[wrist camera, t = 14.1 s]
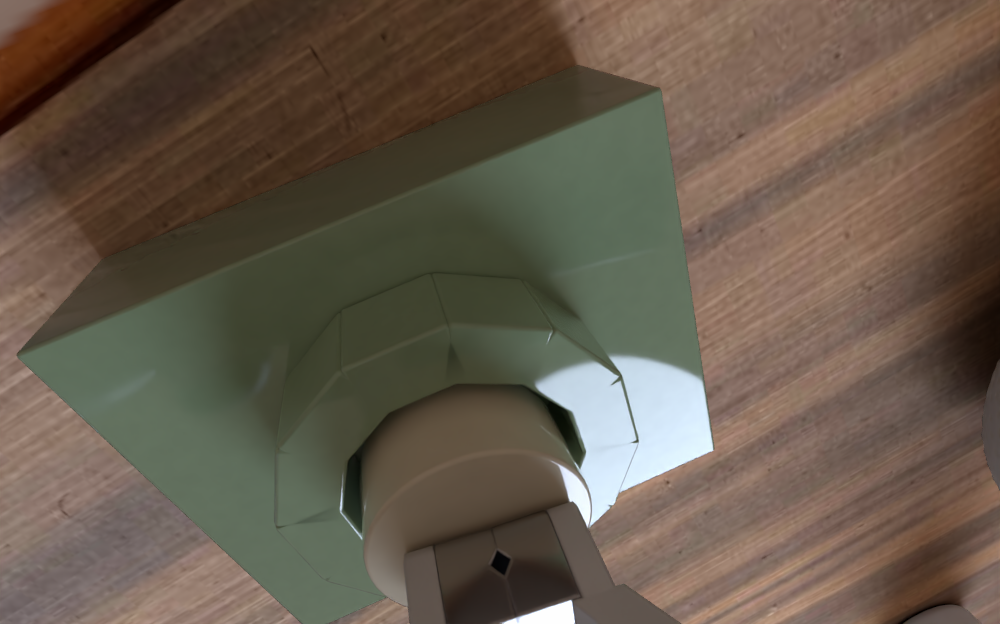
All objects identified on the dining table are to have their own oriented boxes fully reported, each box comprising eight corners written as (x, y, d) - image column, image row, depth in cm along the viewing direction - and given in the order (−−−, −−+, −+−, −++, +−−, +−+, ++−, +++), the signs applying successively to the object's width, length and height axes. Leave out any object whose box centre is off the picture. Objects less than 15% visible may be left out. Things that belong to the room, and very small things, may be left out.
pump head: (409, 550, 12) (420, 643, 10) (320, 429, 10) (317, 520, 8) (575, 476, 12) (613, 555, 10) (523, 341, 10) (562, 413, 8)
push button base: (315, 514, 18) (306, 716, 13) (100, 259, 12) (-62, 436, 7) (647, 368, 18) (763, 507, 13) (579, 63, 13) (730, 105, 8)
